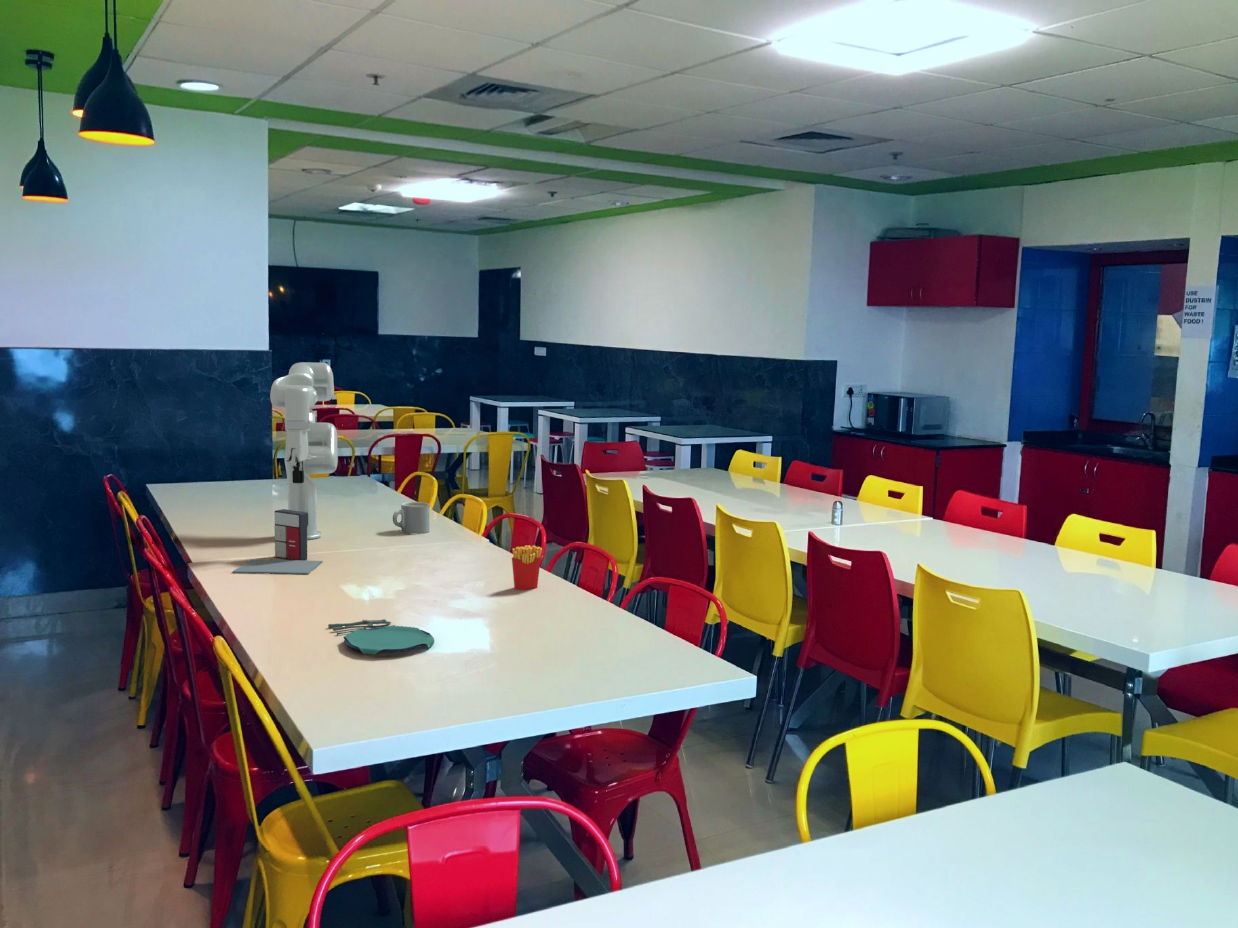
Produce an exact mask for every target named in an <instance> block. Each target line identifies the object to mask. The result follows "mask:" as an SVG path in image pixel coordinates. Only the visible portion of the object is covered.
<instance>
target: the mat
mask: <svg viewBox="0 0 1238 928" xmlns="http://www.w3.org/2000/svg"><path fill="white" fill-rule="evenodd" d="M321 564H323V560H308V559H307V560H289V559H257V558H256V559H250V560H248V561H246V562H245V563H243V564H242V565H240V566H239V567H237V568H236V569H234V570H232V574H256V573H270V574H271V575H272V573H273V575H310V574H311V573H312V572H313V571H314V570H315V569H316V568H318V567H319V566H320V565H321ZM311 571H312V572H311ZM270 574H269V575H270Z"/></svg>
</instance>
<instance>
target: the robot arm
mask: <svg viewBox="0 0 1238 928" xmlns="http://www.w3.org/2000/svg"><path fill="white" fill-rule="evenodd" d="M288 371H289V372H288V374H287V375H284V376H281V377H278V378H276V379H275V380H274V381H273V383H272V385H271V389H270V393H269V395H270V403H271V405H272V406H273V407H274V408H277V409H284V431H286V436H285V452H284V456H283V457H284V465H285V471H286V479H287V510H293V511H301V512H307V513H308V526H307V540H314V539H318V538H321V537H322V535H323V534H322V531H320V530H318V515H317V514H318V512H317V511H318V508H317V507H318V506H317V505H318V504H317V503H318V501H317V500H318V499H317V498H318V497H317V494H318V493H317V490H318V489H317V485H316V483H315V481H314V480H313V479H312V478H311V477H310V476H309V475H312V474H315V475H317V474H318V475H319V474H332V473H335V471H336V470H337V467H338V461H339V459H338V432H337V428H336V426H335V425H334V424H333V423H331V422H316V413H315V412H314V411H313V409H312V408H313V407H314V406H315V405H316V403H317V402H327V401H330V400H332V399H333V397H334V394H335V385H334V373H333V371H332V368H331V366H330V365H329V364H328V363H326V362H310V361H309V362H307V361H306V362H304V361H303V362H302V361H301V362H296V363H294V364H292V366H291V367H290V369H289V370H288Z"/></svg>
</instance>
